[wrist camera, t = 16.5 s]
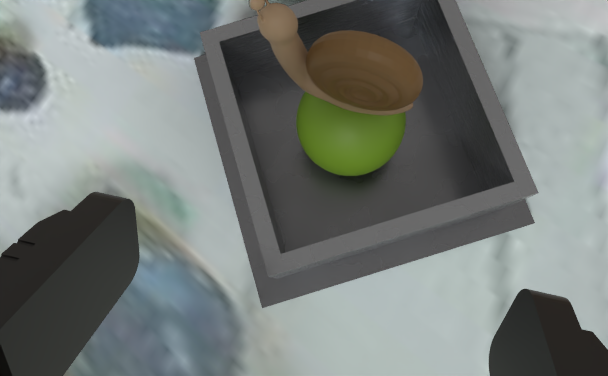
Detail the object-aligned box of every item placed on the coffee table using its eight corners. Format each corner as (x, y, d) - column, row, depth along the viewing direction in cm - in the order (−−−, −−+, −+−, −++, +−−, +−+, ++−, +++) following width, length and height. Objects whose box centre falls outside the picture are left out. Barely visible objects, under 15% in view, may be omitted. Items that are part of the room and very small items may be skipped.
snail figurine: (298, 79, 26) (276, -88, 15) (407, 107, 26) (474, -44, 14) (270, 166, 25) (221, 62, 14) (382, 198, 25) (433, 116, 13)
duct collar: (264, 307, 24) (249, 312, 20) (197, 64, 28) (171, 19, 23) (528, 225, 25) (575, 210, 20) (431, -6, 28) (452, -65, 23)
